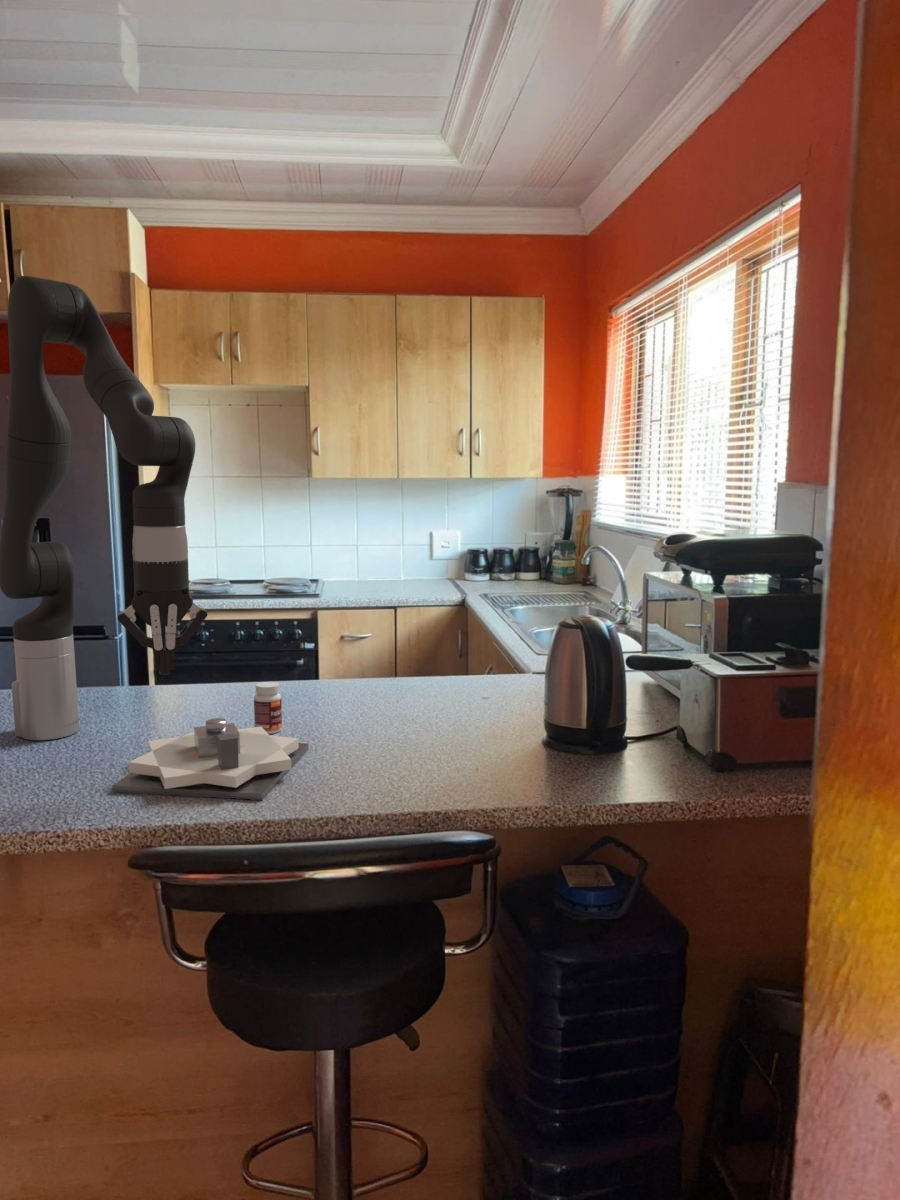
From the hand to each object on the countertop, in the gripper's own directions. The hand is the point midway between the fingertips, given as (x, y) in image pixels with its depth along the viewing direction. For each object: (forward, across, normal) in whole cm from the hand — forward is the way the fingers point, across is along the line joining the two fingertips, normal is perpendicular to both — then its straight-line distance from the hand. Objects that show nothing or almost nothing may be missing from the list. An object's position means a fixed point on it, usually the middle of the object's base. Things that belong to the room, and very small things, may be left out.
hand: (164, 673), depth 123 cm
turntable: (+14, +7, 0) cm, 16 cm away
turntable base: (+16, +7, 0) cm, 17 cm away
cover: (+12, +7, 0) cm, 14 cm away
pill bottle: (+16, +18, +16) cm, 29 cm away
